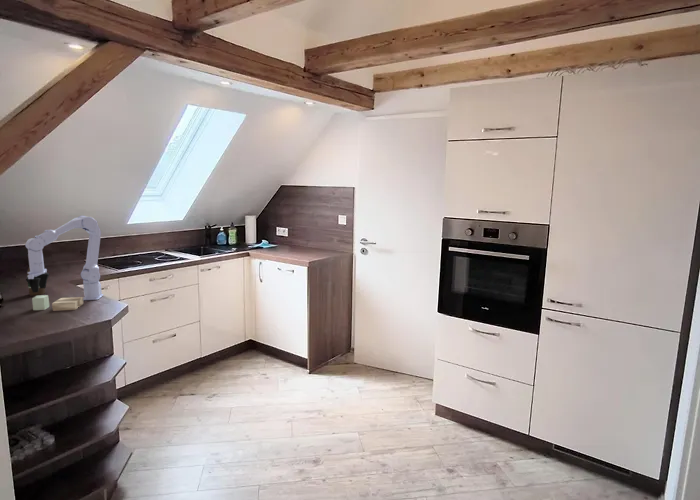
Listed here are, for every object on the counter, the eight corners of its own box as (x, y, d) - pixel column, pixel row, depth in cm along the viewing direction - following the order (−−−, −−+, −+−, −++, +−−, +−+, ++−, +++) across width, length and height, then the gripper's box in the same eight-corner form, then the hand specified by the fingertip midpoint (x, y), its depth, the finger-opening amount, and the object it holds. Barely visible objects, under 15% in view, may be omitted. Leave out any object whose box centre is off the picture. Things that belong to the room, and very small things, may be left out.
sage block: (38, 307, 216) (36, 295, 215) (49, 306, 217) (48, 295, 216) (33, 310, 211) (31, 298, 210) (44, 309, 212) (43, 297, 211)
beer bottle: (33, 292, 242) (28, 250, 238) (48, 292, 244) (44, 249, 240) (25, 296, 235) (20, 252, 231) (41, 295, 236) (37, 252, 232)
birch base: (61, 305, 221) (61, 297, 220) (83, 304, 223) (82, 296, 222) (52, 311, 211) (52, 303, 210) (75, 310, 213) (74, 302, 212)
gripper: (34, 260, 217) (37, 286, 219) (19, 266, 203) (22, 294, 205) (50, 260, 218) (53, 286, 220) (36, 265, 204) (39, 293, 206)
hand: (39, 290), depth 213 cm, fingers open, 7 cm apart
